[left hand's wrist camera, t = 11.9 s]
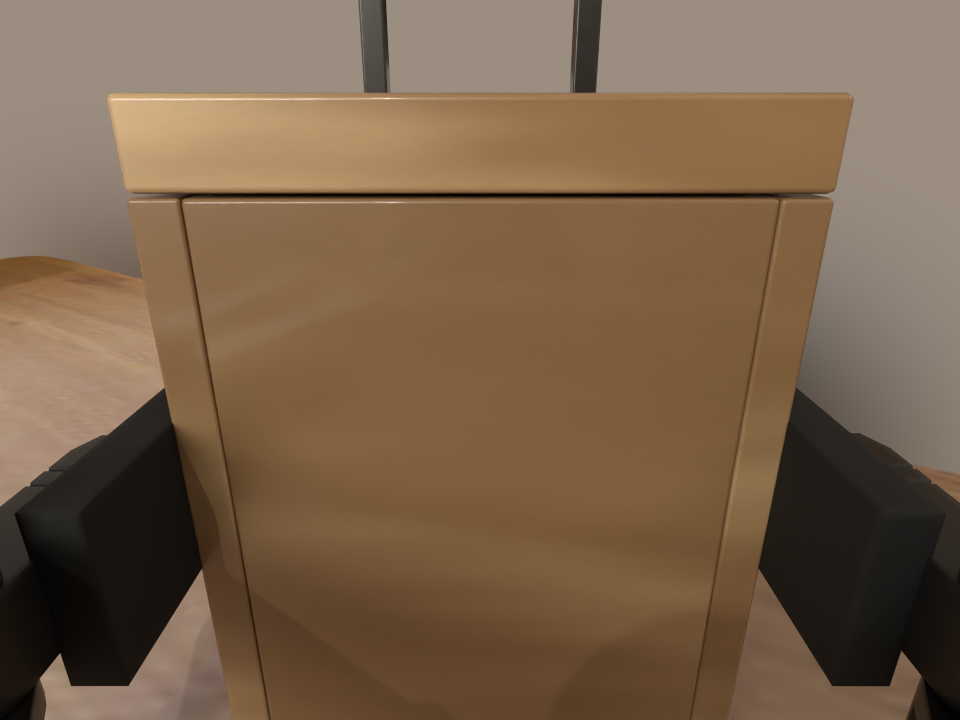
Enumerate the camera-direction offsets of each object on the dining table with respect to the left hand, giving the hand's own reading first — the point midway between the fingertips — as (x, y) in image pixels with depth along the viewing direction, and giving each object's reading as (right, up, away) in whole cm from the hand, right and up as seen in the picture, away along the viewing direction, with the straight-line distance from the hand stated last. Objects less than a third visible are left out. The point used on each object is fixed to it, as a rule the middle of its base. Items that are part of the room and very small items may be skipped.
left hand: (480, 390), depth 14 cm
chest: (0, -5, +5) cm, 7 cm away
